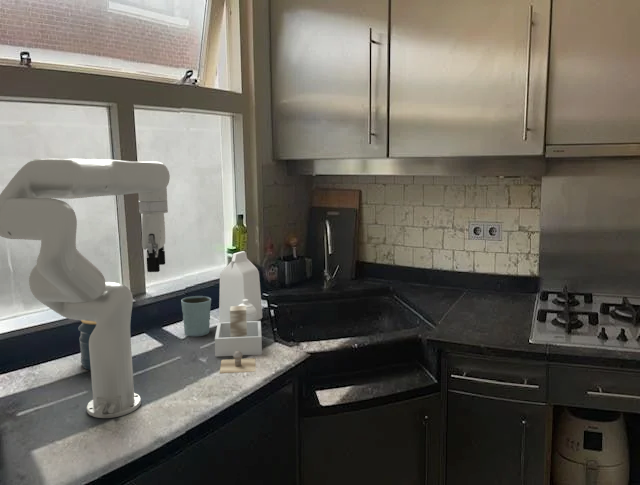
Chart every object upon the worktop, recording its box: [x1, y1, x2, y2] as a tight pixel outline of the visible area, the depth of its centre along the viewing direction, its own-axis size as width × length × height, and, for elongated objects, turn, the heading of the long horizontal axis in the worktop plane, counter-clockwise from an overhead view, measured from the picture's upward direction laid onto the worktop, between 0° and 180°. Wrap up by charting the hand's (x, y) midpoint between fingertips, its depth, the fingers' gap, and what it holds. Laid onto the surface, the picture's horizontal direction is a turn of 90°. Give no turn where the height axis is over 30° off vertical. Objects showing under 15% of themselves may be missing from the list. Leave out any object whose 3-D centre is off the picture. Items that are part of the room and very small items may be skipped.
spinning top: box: [238, 299, 257, 321], centre depth 187 cm, size 8×8×12 cm
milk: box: [218, 250, 263, 323], centre depth 200 cm, size 12×12×26 cm
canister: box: [77, 320, 97, 371], centre depth 160 cm, size 13×13×18 cm
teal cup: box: [180, 295, 212, 337], centre depth 188 cm, size 10×10×12 cm
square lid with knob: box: [219, 351, 257, 374], centre depth 155 cm, size 10×10×6 cm
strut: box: [230, 306, 247, 337], centre depth 170 cm, size 5×5×13 cm
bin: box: [214, 320, 263, 357], centre depth 170 cm, size 16×14×7 cm
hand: (156, 268), depth 151 cm, fingers open, 9 cm apart
